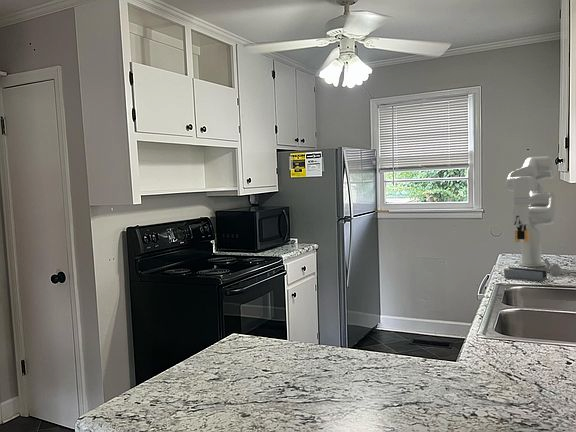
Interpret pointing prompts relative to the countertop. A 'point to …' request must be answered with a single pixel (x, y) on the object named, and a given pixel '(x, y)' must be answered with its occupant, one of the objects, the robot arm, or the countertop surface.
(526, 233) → the clip
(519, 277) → the grey flat block
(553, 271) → the grey irregular flat piece
